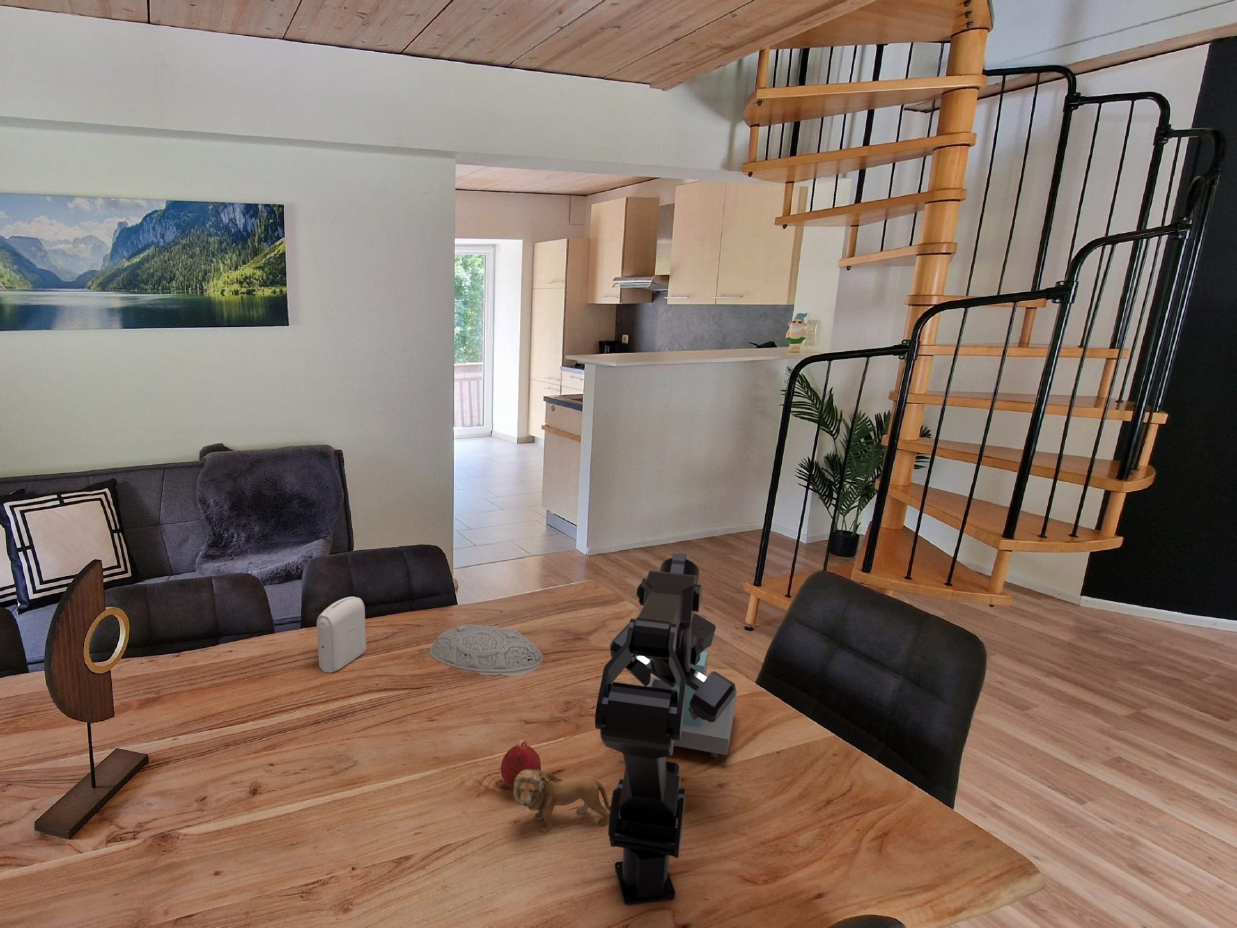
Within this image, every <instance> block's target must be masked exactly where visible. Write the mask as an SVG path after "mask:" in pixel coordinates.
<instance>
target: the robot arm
mask: <svg viewBox="0 0 1237 928" xmlns="http://www.w3.org/2000/svg"><path fill="white" fill-rule="evenodd" d="M699 579H700V569H699V567H698V566H697V565H696V563H694V562H693V561H691V560H689V559H687V553H684V554H683V553H677V552H676V553H675V552H673V553H672V557H670V558H668V559H666V560H664V561H663V562H662V563H661V564H660V568H659V571H656V570H649V572H648V573H647V576H646V578H642V581H641V582H640V583H639V585H638V586H637V587H636V597H637V598H638V604H639V606H642V608H641V610H640V612H639V613H638V615H637V617H636V618H630V620H629V623H628V624H626V626H625V627H624V628H623V629H622V630H621V631H620V632H619V633H618V634H617V635H616V636H615V638H613V639H612V641H611V643H610V645H609V649H610V657H611V658H610V659H609V660H608V662H607V663H606V664H605V665H604V667H603V671H602V676H601V681H600V686H599V692H598V696H597V701H596V707H595V713H594V714H595V715H594V726H595V729H598V730H599V734H600V739H601V741H602V742H603V745H604V746H605V747H607V748H609V749H612V750H613V751H616V752H619V753H622V756H623V761H624V762H623V763H624V766H625V769H624V774H623V778H620V779H619V780H618V784H617V786H616V787H615V788H614V789H613V791H612V795H611V802H610V803H611V804H610V806H611V809H610V811H609V818H608V829H607V832H608V833H607V835H608V837H609V840H608V842H609V844H610V847H611V848H616V847H617V848H623V850H622V851H623V852H622V860H620V861H616V862H614V870H615V873H616V874H615V875H616V878H617V882H618V884H619V890H620V893H621V898H622V900H623V903H624V904H626V905H633V904H639V903H640V904H641V903H648V902H656V901H665V900H671V899H675V898H676V890H675V887H674V884H673V882H672V881H673V880H672V878H671V875H670V873H669V862H670V860H669V859H670V857H674V858H675V859H679V857H680V856H679V855H680V849H681V843H682V842H681V841H682V835H683V825H684V814H685V804H686V803H685V802H686V790H687V789H686V788H684V787H683V788H682V779H681V775H680V774H681V772H680V765H679V764H678V763H677V762H674V761H667V758H668V757H671V756H672V755H673V753H674V747H675V746H674V740H679V741H680V739H681V732H682V724H683V716H684V708H685V700H686V685H688V686H689V687H691V688H692V689H694V690H695V691H696V692H695V693H694V694H693V696H692V699H691V701H690V707H689V709H688V710H689V712H690V714H691V717H692V718H693V719H694V720H696V719H697V718H701V719H703V720H707V721H708V722H715V721H716V720H717V719H718V717H719V716H720V715H721V714H722V712H723V711H724V710H725V708H726V707H727V706H728V704H729V703H730V702H731V700H732V699H733V698H734V697H735V693H736V690H737V689H736V683H734V682H733V681H731V680H730V679H728V678H727V677H725V676H724V675H722V674H721V673H719V672H717V671H711V672H710V673H709V674H708V675H707V676H706V677H705V676H704V675H702V674H701V673H699V672H698V671H696V670H694V669H693V668H691V665H692V664H693V665H695V666H696V664H697V663H698V662H699V661H700V653H702V652H703V651H706V649H708V648H710V647H711V646H712V642H713V639H714V636H715V632H716V629H717V626H716V625H715V624H714V623H713V622H711V621H710V620H708V619H706V618H704V617H702V616H700V615H699V614H698V613H699V611H700V607H701V603H702V596H703V589H704V588H703V585H702V584H699ZM696 612H697V613H696ZM624 670H626V671H627V672H629V673H630V674H631V675H632V676H633V677H634V678H635V679H636V680H637V681H638V682H639V683H640V684H641V685H640V684H632V683H631V684H630V683H623V682H616V681H615V680H616V679H617V678H618V677H619V676H620V674H621V673H622V672H623V671H624ZM652 676H653V677H656V678H659V679H661V680H662V681H664V682H665V683H667V684H668V685H670V686H671V687H674V686H675V685H676V683H677V684H678V686H679V689H680V690H679V698H678V692H677V691H676V690H670V689H663V688H655V687H648V684H649V683H650V679H651V677H652Z"/></svg>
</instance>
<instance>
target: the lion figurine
mask: <svg viewBox="0 0 1237 928" xmlns="http://www.w3.org/2000/svg"><path fill="white" fill-rule="evenodd" d="M512 793H513V797H514V799H515V801H516V802H517V803H519V804H520V805H521V806H522V807H523V808H528V810H530V811H534V812H535V811H538V812H536V813H535V814H534V815H533V818H534V820H535V821H540V820H543V824H541V826H540V831H541V832H542V833H544V834H545V833H548V832H549V830H550V829H551V826H552V814H553V811H554V808H555V806H556V807H558V806H562V807H563V806H567V805H571V804H573V803H575V802H576V801H578V800H579V799H580V800H582V801H583V805H582V806H578V807H577V808H576V812H577V813H578V814H580V815H581V814H585V813H586V811H588V810H589V809H590V810H591V811H593V812H595V813H596V814H598V815H600V816H601V817H600V818H599V819H598V820H597V823H598V825H599V826H602V827H605V826H606V825H607V824H608V823H609V818H608V811H609V812H610V809H611V805H610V804H609V799H608V796H607V795H608V794H607V792H606V789H605V787H604V785H603V783H602V782H601V781H600V780H598V779H597V778H596V777H594V776H592V775H588V774H580V775H575V776H572V777H565V778H561V777H560V778H558V777H557V776H555V775H554V774H553V773H551V772H547V771H544V770H541V771H540V770H538V769H526V770H523V771H521V772H520V773H519V774H518V775H517V776H516V778H515V781H514V789H513V792H512ZM600 794H601V797H602V800H603V803H604V805H603V804H602V802H601V800H600Z"/></svg>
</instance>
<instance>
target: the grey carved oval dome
mask: <svg viewBox="0 0 1237 928" xmlns="http://www.w3.org/2000/svg"><path fill="white" fill-rule="evenodd" d="M429 655H430V656H431V657H432V658H433V659H434V660H435V661H437V662H439V663H441V664H443V665H445V666H449V667H453V668H456V669H461V670H464V671H470V672H475V673H477V674H480V675H487V676H488V675H489V676H490V675H491V676H492V675H493V676H495V675H496V676H498V675H501V676H509V677H510V676H512V677H513V676H520V675H525V674H529V673H532V672H533V671H536V670H537V669H538V668H539V667H540V666H541V665H542V662H543V660H544V655H543V652H542V651H541V650H540V649H539V647H537V646H536V645H535V643H534V642H532V641H531V640H530V639H529V638H527V637H526V636H525V635H524V634H522V633H521V632H519V631H517V630H515V629H511V628H504V627H499V626H496V625H479V624H469V623H468V624H464V625H461V626H460V625H459V626H455V627H453V628H451V629H450V628H449V629H447V630H445V631H443V632H442V633H441V634H439V635H438V637H437V638H436V639H435V640H434V642H432V645H431V646H430V649H429Z"/></svg>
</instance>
